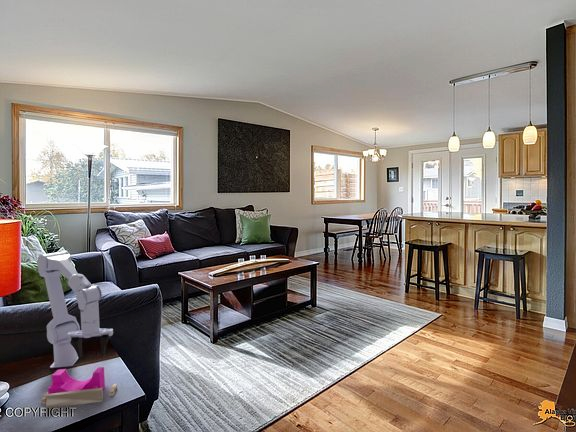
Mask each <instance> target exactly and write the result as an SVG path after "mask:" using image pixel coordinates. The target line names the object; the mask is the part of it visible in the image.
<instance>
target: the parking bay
mask: <svg viewBox="0 0 576 432" xmlns="http://www.w3.org/2000/svg"><path fill="white" fill-rule="evenodd" d="M117 389H118V383H113V384H112V386H111V387H110V390H109V396H110V397H113V396H114V395H115V393H116V391H117ZM103 390H104V389H103V388H96V389H87V390H78V391H70V392H61V393H52V394H48V391H47V392H45V394H44V395H43V397H42V398H41V399H40V401H41V402H40V404H42V405H43V404H44V405H45V404H46V409H52V408H58V407H59V408H61V407H69V406H76V405H84V404H92V403H101V402H103V400H104V391H103Z"/></svg>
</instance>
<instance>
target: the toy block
mask: <svg viewBox="0 0 576 432" xmlns="http://www.w3.org/2000/svg"><path fill="white" fill-rule="evenodd" d="M96 388H103V390H104V389H105V388H106V381H105V367H104V366H98V367H97V368H95V370H94V371H93V373H92V376H91V378H90V379H89V378H88V379H87V380H77V379H75V378H73V377H72V376H70V374H69V373H68V371H67V368H63V369H62V368H60V369H56V371H55V372H53V374H52V375H51V385H50V386H49V387H47V392H48V394H52V393H61V392H70V391H78V390H87V389H96Z"/></svg>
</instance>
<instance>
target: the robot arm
mask: <svg viewBox="0 0 576 432" xmlns="http://www.w3.org/2000/svg"><path fill="white" fill-rule="evenodd" d="M36 265H37V270H38V274H39V277H43V278H44V282H45V286H46V290H47V296H48V299H49V304H50V309H51V313H52V314H51V315H52V317H53V318H52V319H51V320H50V321H49V322H48V323H47V325H46V338H47V341H48V342H49V343H50V344H52V345H53V347H52V348H53V360H54V361H53V363H52V364H51V365H50V366H49V368H50V369H55V368H56V369H57V368H65V367H66V368H67V367H73V366H74V365H75V363H76V362H77V361H78V360H79V359H80V358H82V356H83V339H89V338H93V337H100V339H99V344H100V355H101V356H102V357H103V356H105V354H106V348H107V346H108V341H109V339H110V338H111V337H112V336H113V335H114V329H113V328H100V310H99V309H100V308H99V301H100V300H101V299H102V289H101V288H100V286H99V285H98V284H97V285H96V284H94V283H92V284H91V282H90V281H89V280H88V278H87V277H86V276H85V275H84V274H82V273H78V271H77V270H76V268H75V267H74V265H73V264H72V256H71V253H70V252H68V250H62V251H56V252H51V253H43V254H42V253H41V254H39V255H38V257H37V260H36ZM61 274H62V275H63V276H64V277H65V278H66V279H67V280H68V281H67V285H68V286H69V287H70V288H71V290H72V292H74V293H75V295H76V296H75V298H76V301H77V304H78V305H77V306H78V310H80V324H79V322H78V320H77V317H76V316H73V315H71V314H69V312H68V307H67V302H66V299H65V294H64V290H63V285H62V282H61V281H62V280H61Z"/></svg>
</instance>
